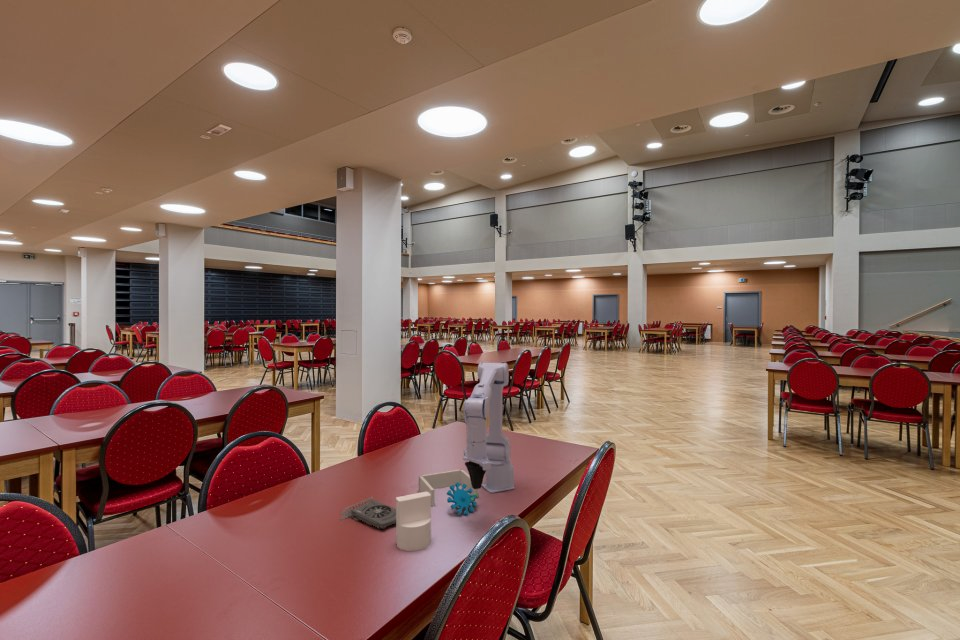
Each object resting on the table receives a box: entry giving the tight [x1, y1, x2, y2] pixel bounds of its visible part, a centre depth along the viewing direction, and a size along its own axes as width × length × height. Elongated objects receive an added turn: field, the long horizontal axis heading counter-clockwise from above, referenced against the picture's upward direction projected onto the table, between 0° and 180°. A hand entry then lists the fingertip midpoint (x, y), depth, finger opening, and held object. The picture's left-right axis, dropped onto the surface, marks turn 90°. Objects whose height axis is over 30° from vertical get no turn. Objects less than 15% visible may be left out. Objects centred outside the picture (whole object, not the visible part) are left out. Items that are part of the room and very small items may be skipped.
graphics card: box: [340, 496, 396, 529], centre depth 127 cm, size 17×4×12 cm
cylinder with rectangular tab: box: [395, 491, 432, 552], centre depth 114 cm, size 9×9×12 cm
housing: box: [418, 468, 479, 507], centre depth 146 cm, size 16×14×5 cm
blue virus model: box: [446, 483, 479, 516], centre depth 134 cm, size 11×6×10 cm
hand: (476, 487), depth 124 cm, fingers closed
